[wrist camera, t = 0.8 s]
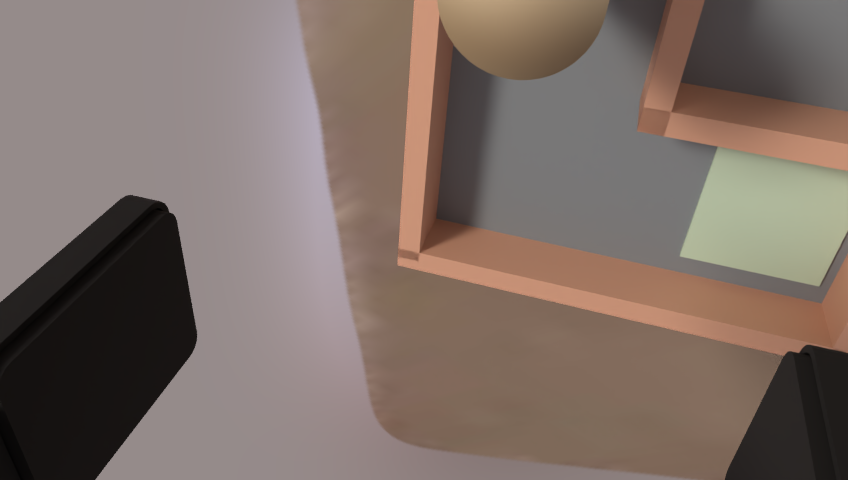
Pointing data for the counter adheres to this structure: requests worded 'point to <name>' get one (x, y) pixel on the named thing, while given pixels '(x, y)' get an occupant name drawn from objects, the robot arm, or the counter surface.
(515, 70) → the peg
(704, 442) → the counter surface
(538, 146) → the track
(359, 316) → the counter surface
